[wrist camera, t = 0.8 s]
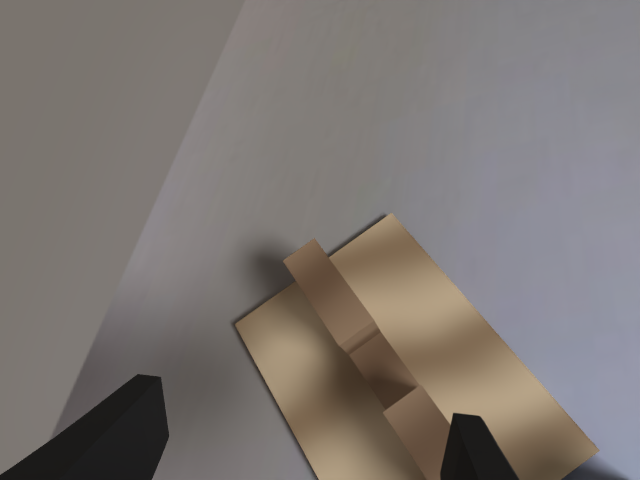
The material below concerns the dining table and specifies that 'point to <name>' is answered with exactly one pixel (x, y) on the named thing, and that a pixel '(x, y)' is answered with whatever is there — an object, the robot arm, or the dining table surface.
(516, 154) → the dining table surface
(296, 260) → the slotted board
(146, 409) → the robot arm
